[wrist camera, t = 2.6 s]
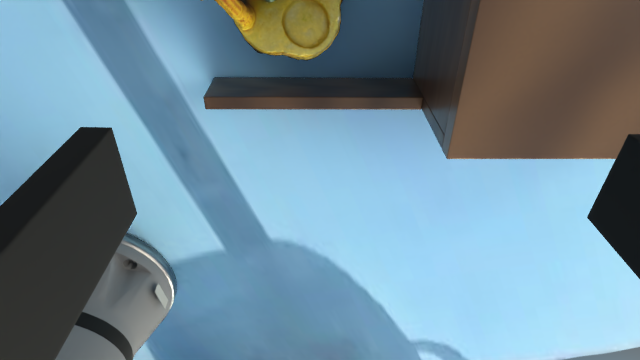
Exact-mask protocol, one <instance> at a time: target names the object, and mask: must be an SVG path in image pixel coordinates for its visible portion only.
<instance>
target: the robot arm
mask: <svg viewBox="0 0 640 360" xmlns="http://www.w3.org/2000/svg"><path fill="white" fill-rule="evenodd" d="M136 215H137V212H136V208H135V205H134V202H133V198H132V195H131V191H130V188H129V185H128V181H127V178H126V174H125V171H124V168H123V164H122V161H121V158H120V154H119V151H118V147H117V144H116V141H115V137H114V134H113V130H112V128H99V127H80V128H79V129H78V130H77V131H76V132H75V133H74V134H73V135H72V136H71V137H70V138H69V139H68V140H67V141H66V142H65V143H64V144H63V145H62V146H61V147H60V148H59V149H58V150H57V151H56V152H55V153H54V154H53V155H52V156H51V157H50V158H49V159H48V160H47V161H46V162H45V163H44V164H43V165H42V166H41V167H40V168H39V169H38V170H37V171H36V172H35V173H34V174H33V175H32V176H31V177H30V178H29V179H28V180H27V181H26V182H25V183H24V184H22V185H21V186H20V187H19V188H18V189H17V190H16V191H15V192H14V193H13V194H12V195H11V196H10V197H9V198H8V199H7V200H6V201H5V202H4V203H3V204H2V205H1V206H0V360H133V357H134V355H135V354H136V352H137V351H138V350H139V349H140V348H141V346H142V345H143V344H144V343H145V342H146V340H147V339H148V338H149V337H150V335H151V334H152V333H153V332H154V330H155V329H156V328H157V327H158V325H159V324H160V323H161V322H162V321H163V320H164V318H165V317H166V315H167V314H168V312H169V310H170V308H171V306H172V303H173V301H174V298H175V295H176V290H177V283H176V278H175V275H174V272H173V270H172V268H171V267H170V265H169V264H168V262H167V261H166V260H165V259H164V258H163V256H162V255H161V254H159V253H158V252H157V251H156V250H155V249H154V248H152V247H151V246H149V245H148V244H146V243H145V242H143V241H141V240H140V239H138V238H136V237H133V236H131V235H129V234H126V232H127V231H128V229H129V227H130V225H131V224H132V222H133V220H134V218H135V216H136ZM587 218H588V219H589V220H590V221H591V222H592V224H593V225H594V226H595V227H596V228H597V229H598V231H599V232H600V233H601V234H602V235H603V237H604V238H605V239H606V240H607V241H608V242H609V244H610V245H611V246H612V247H613V248H614V249H615V251H616V252H617V253H618V254H619V255H620V256H621V258H622V259H623V260H624V261H625V262H626V263H627V265H628V266H629V267H630V268H631V269H632V271H633V272H634V273H635V274H636V275H637V276H638V278H639V279H640V134H628V136H627V138H626V140H625V142H624V144H623V146H622V148H621V150H620V152H619V154H618V156H617V158H616V160H615V162H614V164H613V166H612V168H611V170H610V172H609V174H608V176H607V178H606V180H605V182H604V184H603V186H602V188H601V190H600V192H599V194H598V196H597V198H596V200H595V202H594V204H593V206H592V209H591V211H590V213H589V215H588V217H587Z"/></svg>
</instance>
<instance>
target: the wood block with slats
mask: <svg viewBox="0 0 640 360" xmlns="http://www.w3.org/2000/svg"><path fill="white" fill-rule="evenodd" d="M204 103H205V108H206V109H422V111H423V112H424V114H425V116H426V118H427V120H428V122H429V124H430V126H431V128H432V130H433V132H434V134H435V136H436V138H437V140H438V142H439V144H440V146H441V148H442V150H443V152H444V154H445V156H446V158H447V159H616V158H617V156H618V154H619V152H620V150H621V148H622V146H623V144H624V142H625V140H626V138H627V136H628V134H640V0H424V2H423V9H422V16H421V23H420V31H419V38H418V45H417V52H416V59H415V67H414V74H413V78H252V77H215V78H214V79H213V81H212V83H211V85H210V86H209V88H208V90H207V92H206V94H205V95H204Z"/></svg>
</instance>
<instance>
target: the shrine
mask: <svg viewBox="0 0 640 360" xmlns="http://www.w3.org/2000/svg"><path fill="white" fill-rule="evenodd" d="M201 1H202V0H201ZM215 1H216V2H217V3H218V4H219V5H220V6H221V7H222V8H223V9H224V10H225V11H226V13H227V14H228V15H229V16H230V17H231V18H233V19H234V23H235V24H236V26H237V27H238V29H239V31H240V32H241V33H242V35H243V37H244V39H245V40H246V41H247V42H248V43H249V44H250V45H251V46H252V47H253V48H254V50H255V51H257V52H258V53H266V54H268V55H275V56H276V55H285V56H288V57H290V58H294V59H297V60H300V59H302V60H310V59H312V58H315V57H317V56H319V55H320V54H321V53H323V51H325V50H326V49H328V48H329V47H330V45H331V44H332V42H333V40H334V39H335V37H336V36H337V35H338V33H339V30H340V23H341V13H340V12H341V9H340V5H341V3H342V1H343V0H215Z"/></svg>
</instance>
